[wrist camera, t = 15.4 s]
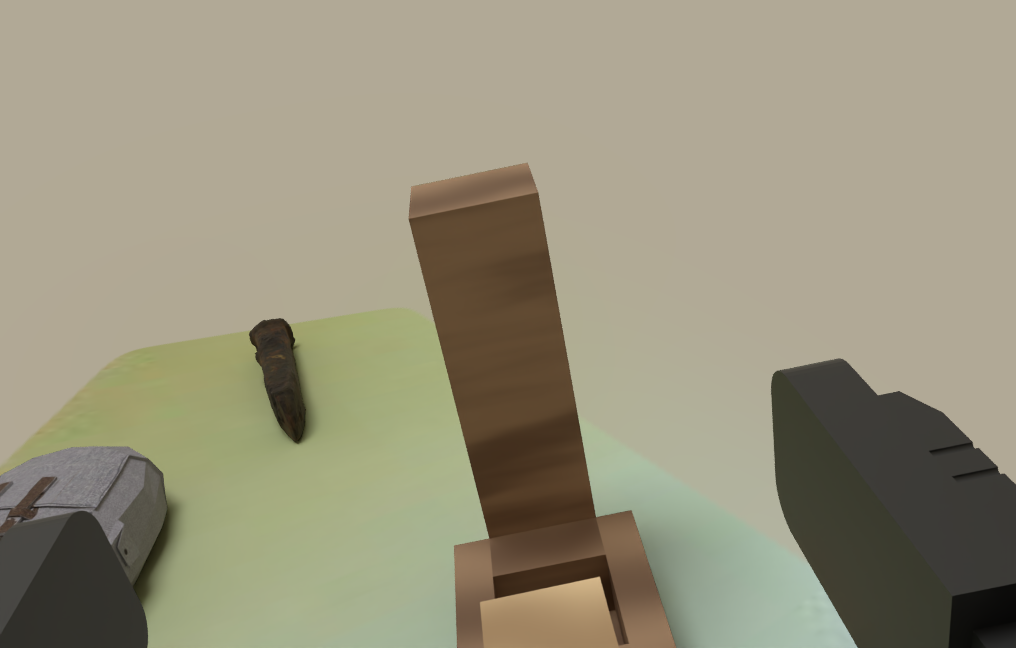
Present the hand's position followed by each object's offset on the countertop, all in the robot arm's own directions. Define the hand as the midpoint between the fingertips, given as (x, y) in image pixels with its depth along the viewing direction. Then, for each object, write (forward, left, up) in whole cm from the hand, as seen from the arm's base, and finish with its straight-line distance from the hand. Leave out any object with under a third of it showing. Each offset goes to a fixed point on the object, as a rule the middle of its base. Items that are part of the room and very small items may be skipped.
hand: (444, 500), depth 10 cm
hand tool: (-57, +28, -30) cm, 70 cm away
